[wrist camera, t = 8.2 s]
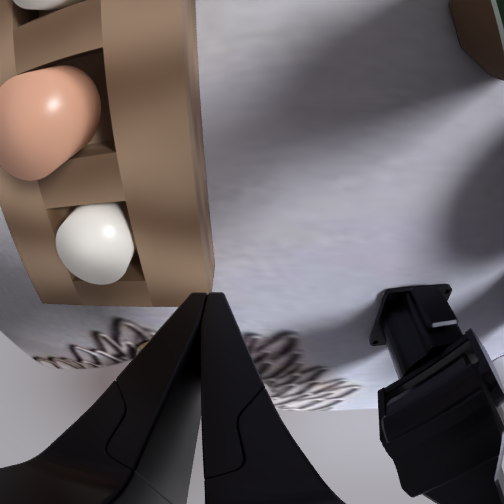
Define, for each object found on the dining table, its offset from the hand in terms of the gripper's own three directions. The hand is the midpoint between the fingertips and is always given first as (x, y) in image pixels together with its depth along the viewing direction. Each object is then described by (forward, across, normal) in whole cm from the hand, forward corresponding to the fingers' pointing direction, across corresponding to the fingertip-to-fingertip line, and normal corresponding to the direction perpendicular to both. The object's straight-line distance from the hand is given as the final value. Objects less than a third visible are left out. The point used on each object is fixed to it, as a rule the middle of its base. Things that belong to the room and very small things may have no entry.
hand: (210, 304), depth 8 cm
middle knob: (+7, +8, -5) cm, 12 cm away
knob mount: (+11, +8, -5) cm, 14 cm away
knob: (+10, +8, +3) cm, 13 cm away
